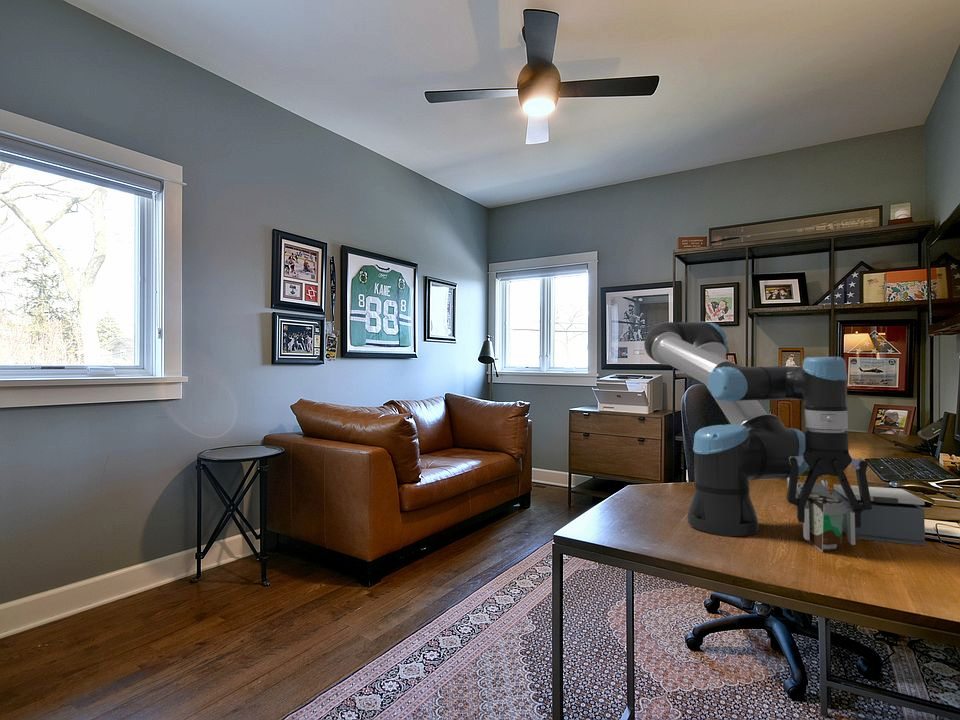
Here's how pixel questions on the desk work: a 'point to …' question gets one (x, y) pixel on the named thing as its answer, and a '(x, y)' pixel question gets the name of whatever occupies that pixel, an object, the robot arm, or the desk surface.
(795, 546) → the desk surface
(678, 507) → the desk surface
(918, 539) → the storage box
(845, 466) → the robot arm
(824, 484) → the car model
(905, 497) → the box lid
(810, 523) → the food container
